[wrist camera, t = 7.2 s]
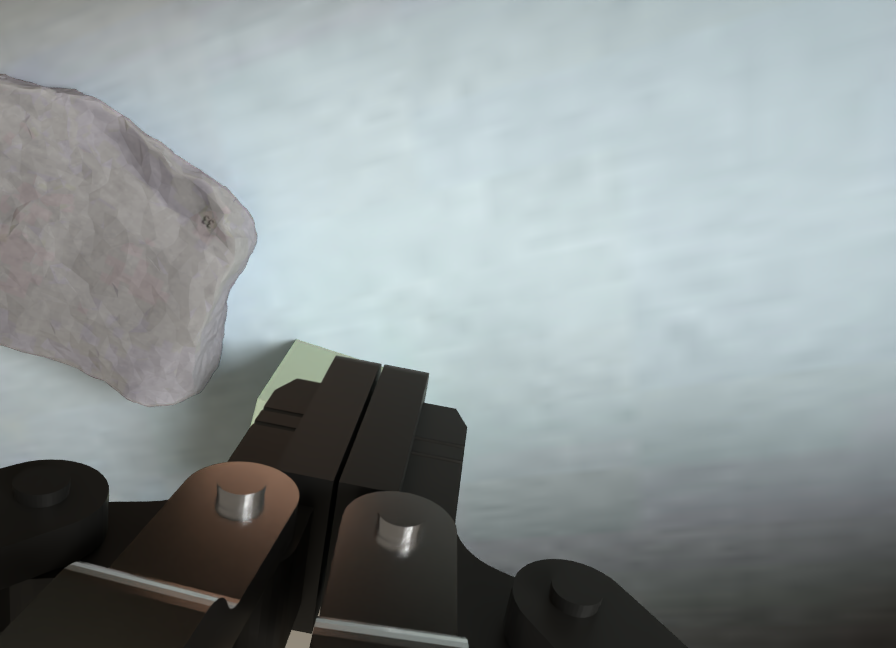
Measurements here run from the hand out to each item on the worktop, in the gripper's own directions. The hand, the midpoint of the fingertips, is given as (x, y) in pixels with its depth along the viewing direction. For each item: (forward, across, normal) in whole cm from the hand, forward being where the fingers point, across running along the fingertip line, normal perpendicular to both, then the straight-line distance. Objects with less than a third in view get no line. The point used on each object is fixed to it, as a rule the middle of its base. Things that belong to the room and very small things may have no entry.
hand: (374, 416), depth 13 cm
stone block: (+19, +13, +4) cm, 24 cm away
